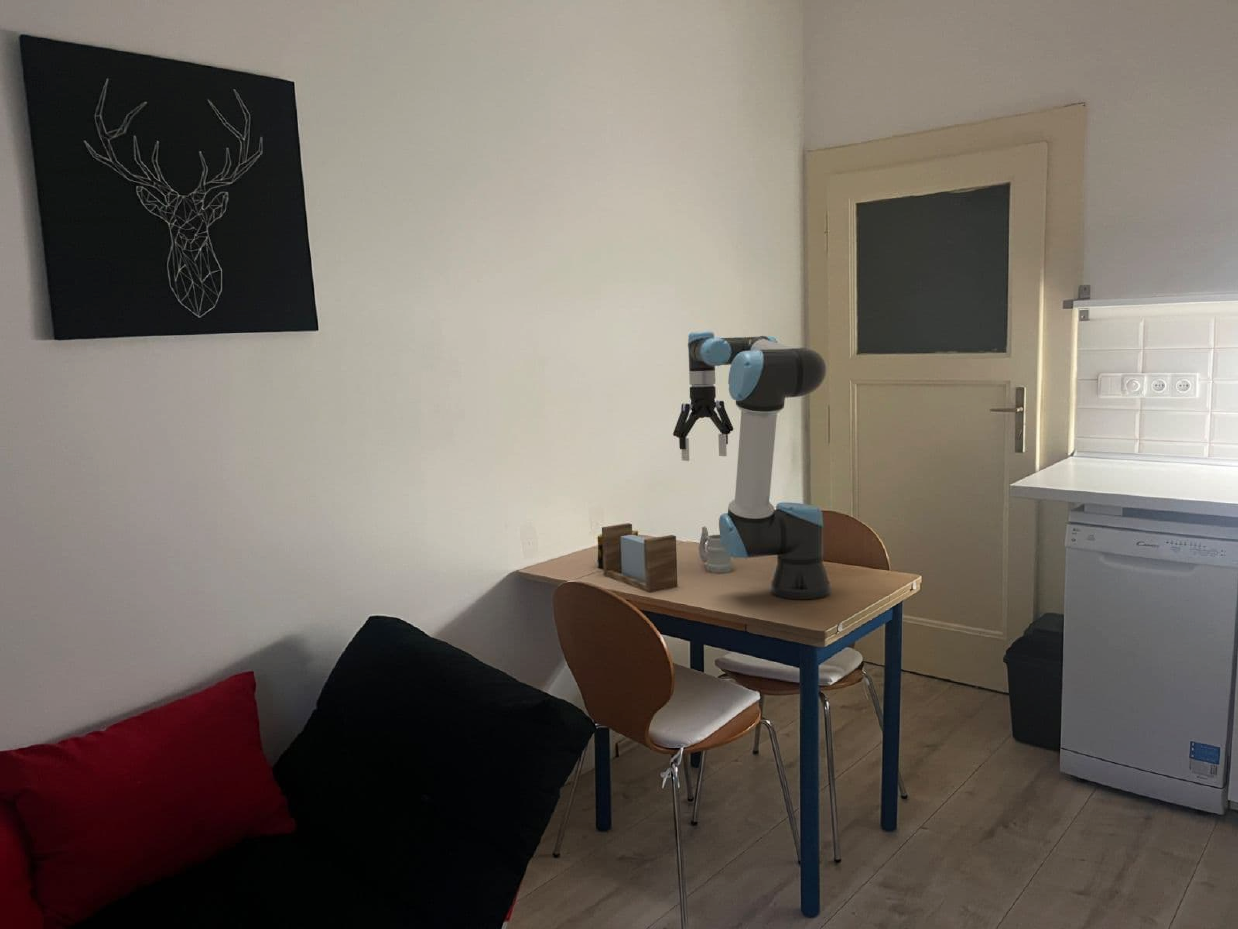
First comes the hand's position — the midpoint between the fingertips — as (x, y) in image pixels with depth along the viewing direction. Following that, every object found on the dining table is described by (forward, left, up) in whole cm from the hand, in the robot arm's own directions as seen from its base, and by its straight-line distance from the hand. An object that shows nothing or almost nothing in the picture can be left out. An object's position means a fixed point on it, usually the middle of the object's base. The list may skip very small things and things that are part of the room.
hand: (704, 458), depth 269 cm
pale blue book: (-3, +26, -32) cm, 41 cm away
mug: (-6, +2, -32) cm, 33 cm away
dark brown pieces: (+16, +21, -32) cm, 41 cm away
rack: (-3, +26, -32) cm, 41 cm away
